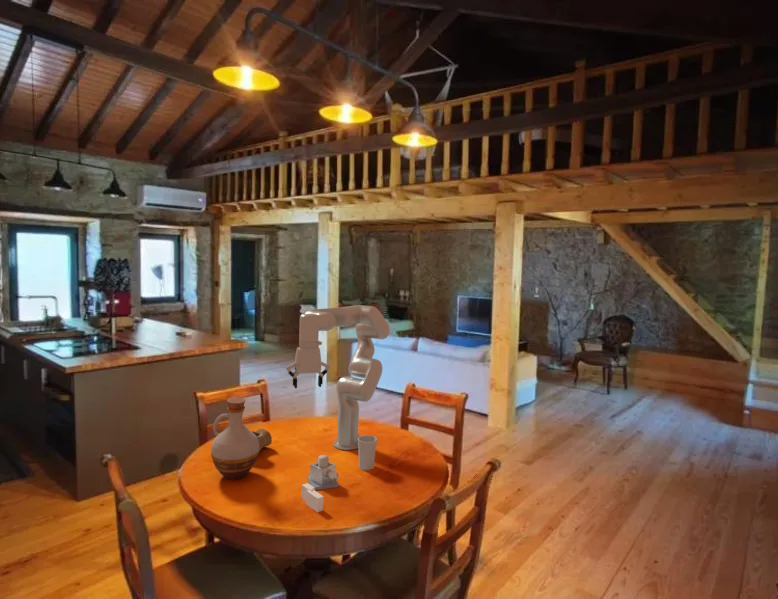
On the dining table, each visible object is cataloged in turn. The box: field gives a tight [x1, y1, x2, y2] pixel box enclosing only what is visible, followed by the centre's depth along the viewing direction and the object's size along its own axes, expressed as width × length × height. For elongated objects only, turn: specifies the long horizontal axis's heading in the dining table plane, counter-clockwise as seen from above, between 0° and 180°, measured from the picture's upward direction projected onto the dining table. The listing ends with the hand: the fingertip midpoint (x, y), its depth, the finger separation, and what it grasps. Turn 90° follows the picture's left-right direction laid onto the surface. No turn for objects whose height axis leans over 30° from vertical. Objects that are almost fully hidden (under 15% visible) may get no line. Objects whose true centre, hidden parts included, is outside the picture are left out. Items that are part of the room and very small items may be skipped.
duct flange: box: [306, 454, 340, 491], centre depth 181 cm, size 10×10×10 cm
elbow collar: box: [309, 460, 339, 486], centre depth 180 cm, size 10×7×6 cm, turn 49°
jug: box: [210, 396, 260, 481], centre depth 184 cm, size 20×18×30 cm
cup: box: [357, 434, 378, 471], centre depth 196 cm, size 8×8×12 cm
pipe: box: [251, 428, 273, 453], centre depth 205 cm, size 9×16×10 cm, turn 170°
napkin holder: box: [301, 482, 324, 513], centre depth 166 cm, size 15×11×6 cm
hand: (307, 386), depth 191 cm, fingers open, 9 cm apart
